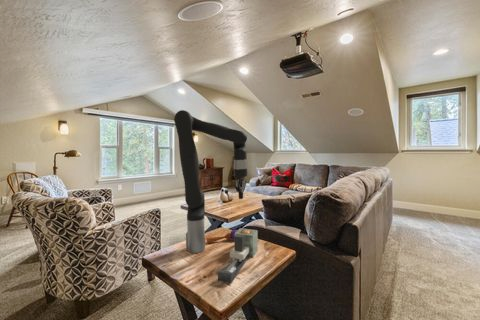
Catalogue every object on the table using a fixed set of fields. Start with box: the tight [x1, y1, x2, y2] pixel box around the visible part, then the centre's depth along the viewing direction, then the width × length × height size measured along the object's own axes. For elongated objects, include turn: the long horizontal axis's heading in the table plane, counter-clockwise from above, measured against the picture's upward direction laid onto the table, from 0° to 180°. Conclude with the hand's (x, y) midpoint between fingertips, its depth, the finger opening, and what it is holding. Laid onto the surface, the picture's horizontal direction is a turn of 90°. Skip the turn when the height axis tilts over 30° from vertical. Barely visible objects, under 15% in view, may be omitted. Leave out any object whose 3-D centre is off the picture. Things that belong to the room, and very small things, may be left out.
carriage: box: [229, 234, 249, 262], centre depth 105 cm, size 8×7×11 cm
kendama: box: [206, 229, 239, 245], centre depth 130 cm, size 6×6×20 cm
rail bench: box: [217, 227, 259, 284], centre depth 104 cm, size 32×10×11 cm, turn 159°
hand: (240, 198), depth 121 cm, fingers closed
